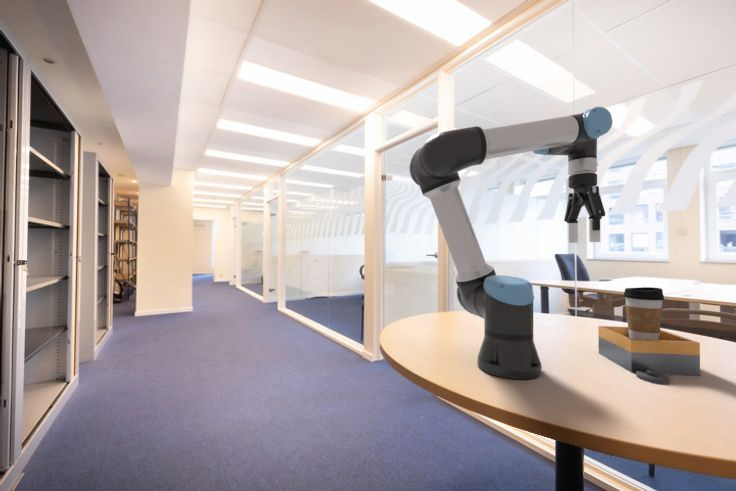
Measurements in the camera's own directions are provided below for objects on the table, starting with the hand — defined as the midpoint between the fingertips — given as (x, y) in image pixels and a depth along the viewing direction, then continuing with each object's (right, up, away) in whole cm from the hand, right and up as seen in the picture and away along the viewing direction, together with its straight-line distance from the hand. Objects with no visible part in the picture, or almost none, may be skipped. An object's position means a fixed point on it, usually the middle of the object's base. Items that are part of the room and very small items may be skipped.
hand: (583, 242), depth 102 cm
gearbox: (+7, -33, -14) cm, 36 cm away
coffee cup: (+7, -28, -14) cm, 32 cm away
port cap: (0, -33, -24) cm, 41 cm away
